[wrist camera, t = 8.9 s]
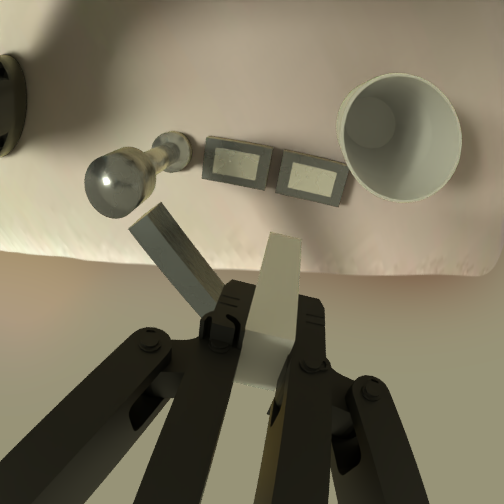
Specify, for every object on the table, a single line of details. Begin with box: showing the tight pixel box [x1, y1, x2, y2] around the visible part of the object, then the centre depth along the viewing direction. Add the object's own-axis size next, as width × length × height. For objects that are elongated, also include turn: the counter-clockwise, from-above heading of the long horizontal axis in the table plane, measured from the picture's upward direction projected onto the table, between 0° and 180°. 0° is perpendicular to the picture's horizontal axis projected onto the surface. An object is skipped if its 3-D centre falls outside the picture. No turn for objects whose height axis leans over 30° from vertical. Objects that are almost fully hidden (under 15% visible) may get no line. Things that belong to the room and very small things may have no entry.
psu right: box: [275, 149, 349, 207], centre depth 27 cm, size 6×4×1 cm, turn 81°
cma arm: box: [84, 147, 224, 318], centre depth 22 cm, size 20×4×3 cm, turn 33°
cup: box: [336, 73, 462, 203], centre depth 20 cm, size 8×8×10 cm
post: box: [144, 131, 192, 175], centre depth 25 cm, size 4×4×8 cm
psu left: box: [202, 136, 273, 191], centre depth 27 cm, size 6×4×1 cm, turn 81°
